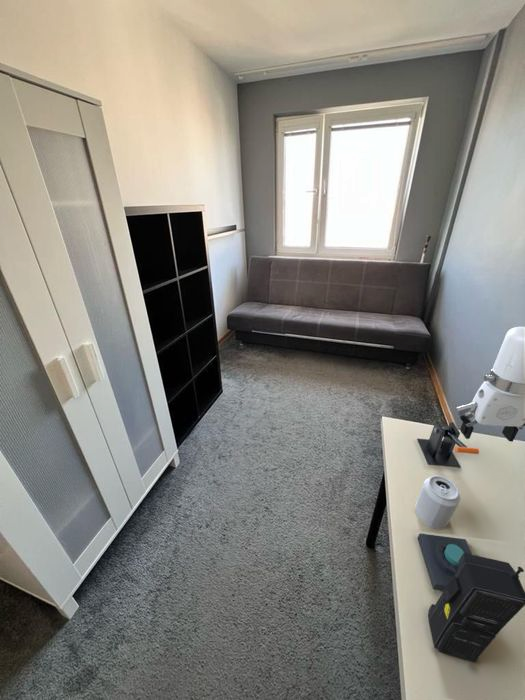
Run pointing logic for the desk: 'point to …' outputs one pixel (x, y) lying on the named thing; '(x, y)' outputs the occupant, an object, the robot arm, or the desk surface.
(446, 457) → the kettle bracket
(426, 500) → the can
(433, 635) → the portable radio
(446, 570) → the socket block
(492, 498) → the desk surface
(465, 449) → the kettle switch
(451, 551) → the socket button
